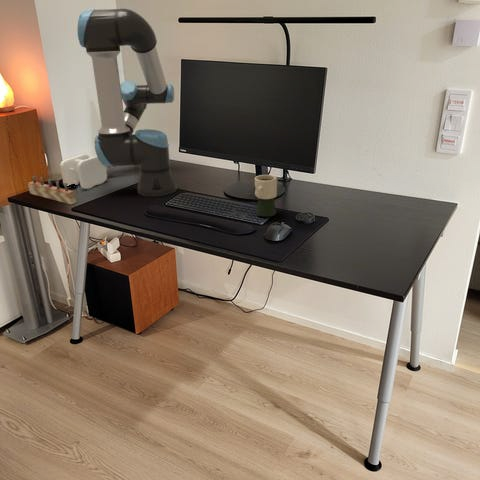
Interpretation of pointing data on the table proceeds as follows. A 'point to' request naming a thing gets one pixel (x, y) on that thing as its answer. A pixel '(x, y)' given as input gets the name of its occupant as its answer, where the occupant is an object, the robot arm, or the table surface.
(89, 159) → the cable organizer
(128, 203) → the table surface
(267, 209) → the character mug
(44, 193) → the comb rail
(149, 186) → the robot arm
